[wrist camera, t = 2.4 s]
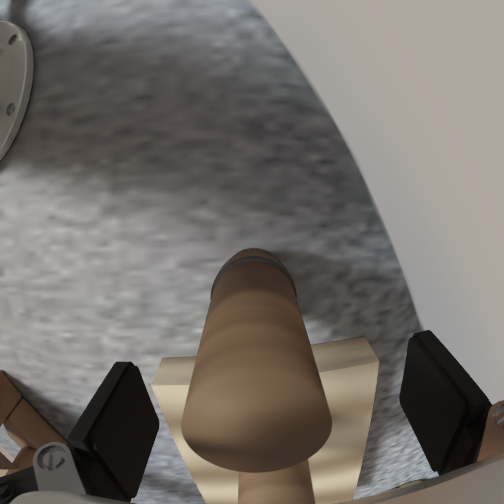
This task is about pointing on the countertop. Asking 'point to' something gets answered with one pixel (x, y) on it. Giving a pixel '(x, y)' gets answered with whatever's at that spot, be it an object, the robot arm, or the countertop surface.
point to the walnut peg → (255, 373)
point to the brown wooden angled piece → (22, 427)
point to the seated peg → (277, 486)
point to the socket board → (321, 463)
